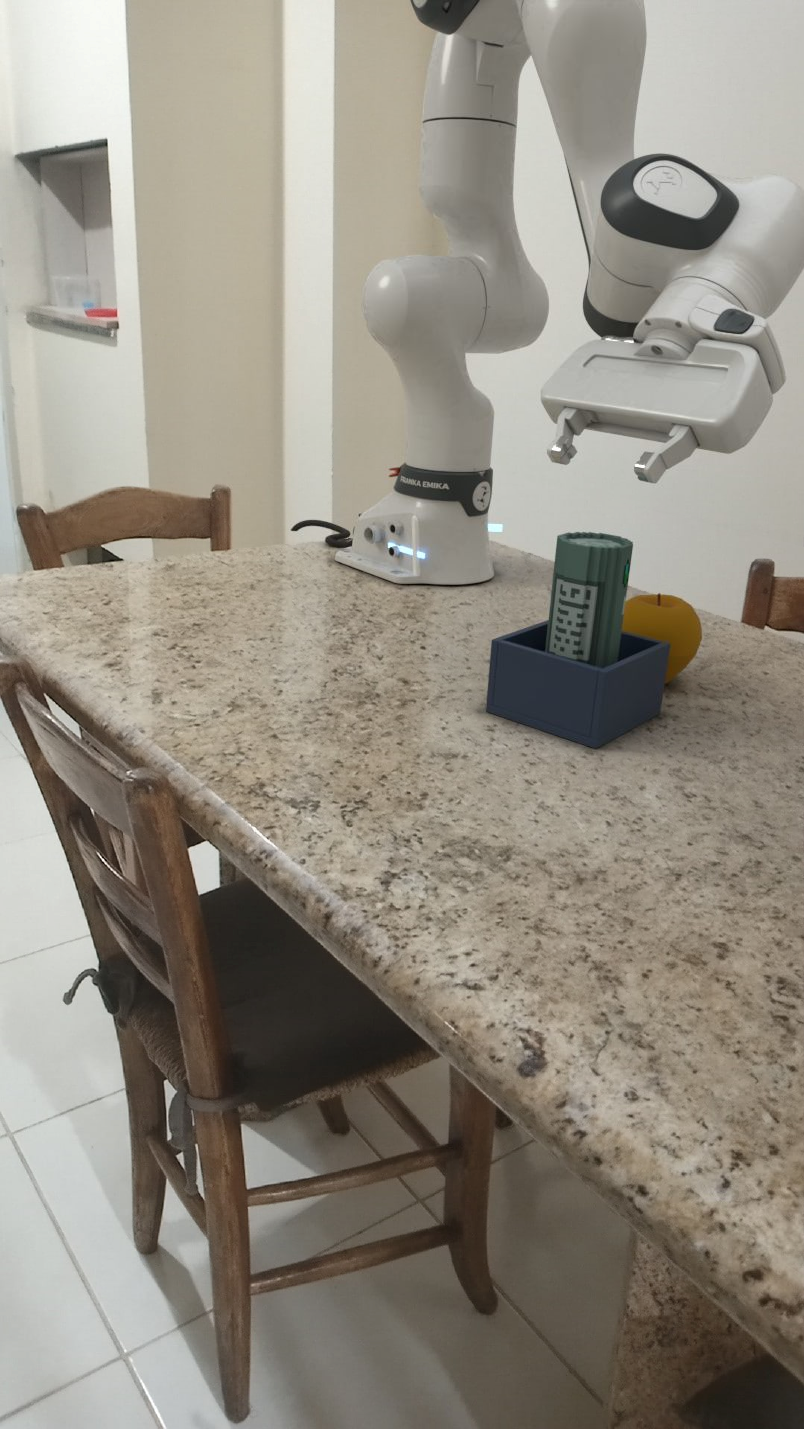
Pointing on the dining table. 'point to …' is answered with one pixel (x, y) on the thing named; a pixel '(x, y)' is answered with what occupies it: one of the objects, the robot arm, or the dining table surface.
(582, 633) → the can
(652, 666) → the dark blue bin
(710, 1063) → the dining table surface
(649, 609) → the apple
